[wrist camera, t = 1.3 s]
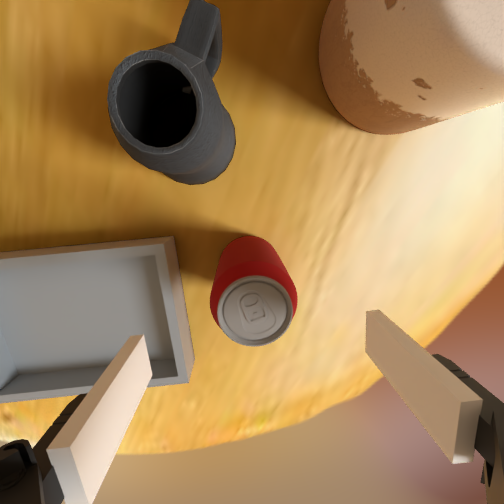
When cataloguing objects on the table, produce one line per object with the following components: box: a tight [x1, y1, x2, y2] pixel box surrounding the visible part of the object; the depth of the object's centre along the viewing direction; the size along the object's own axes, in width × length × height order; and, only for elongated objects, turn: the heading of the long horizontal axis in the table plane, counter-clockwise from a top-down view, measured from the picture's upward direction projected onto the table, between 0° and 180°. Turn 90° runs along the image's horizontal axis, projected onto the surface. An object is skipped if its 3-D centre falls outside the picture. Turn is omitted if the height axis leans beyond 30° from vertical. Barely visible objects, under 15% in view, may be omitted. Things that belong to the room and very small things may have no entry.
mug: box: [107, 0, 236, 185], centre depth 20 cm, size 12×9×11 cm
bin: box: [0, 236, 195, 403], centre depth 28 cm, size 16×22×4 cm
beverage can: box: [210, 236, 297, 346], centre depth 24 cm, size 7×7×12 cm
